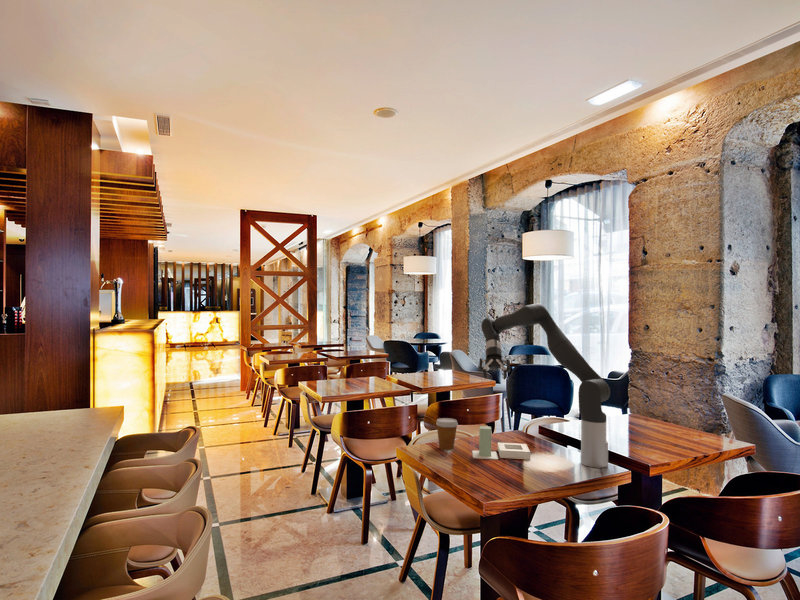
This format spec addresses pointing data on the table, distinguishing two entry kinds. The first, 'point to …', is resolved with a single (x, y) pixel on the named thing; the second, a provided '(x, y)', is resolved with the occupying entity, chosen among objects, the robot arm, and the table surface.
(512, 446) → the pocket holder
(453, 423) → the disposable coffee cup
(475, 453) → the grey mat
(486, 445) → the sage block
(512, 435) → the table surface
